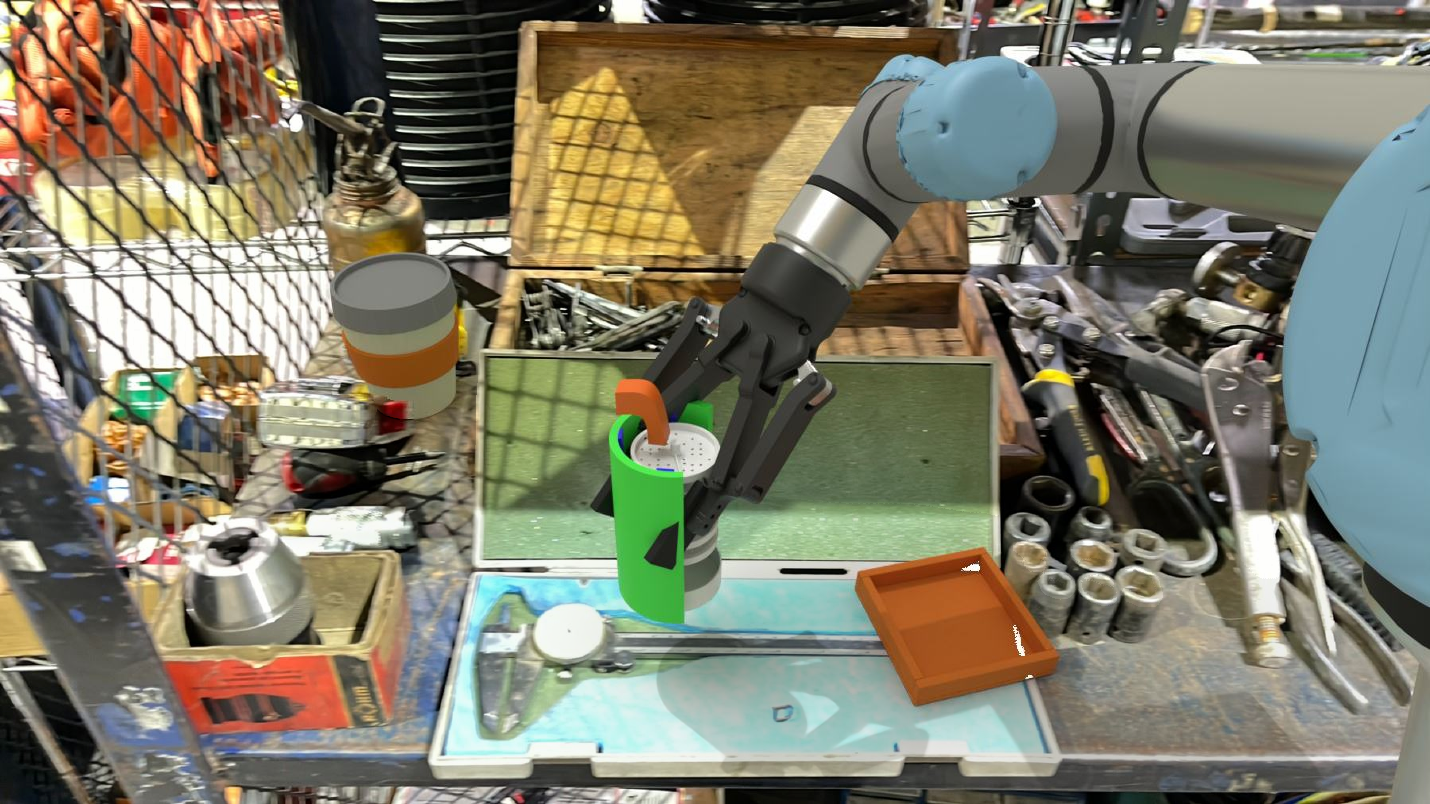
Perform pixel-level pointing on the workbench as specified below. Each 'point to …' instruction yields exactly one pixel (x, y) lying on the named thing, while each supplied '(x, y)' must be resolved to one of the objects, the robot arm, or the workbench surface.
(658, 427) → the green-shelled ribbed roller
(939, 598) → the shallow square tray
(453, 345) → the reusable coffee cup
